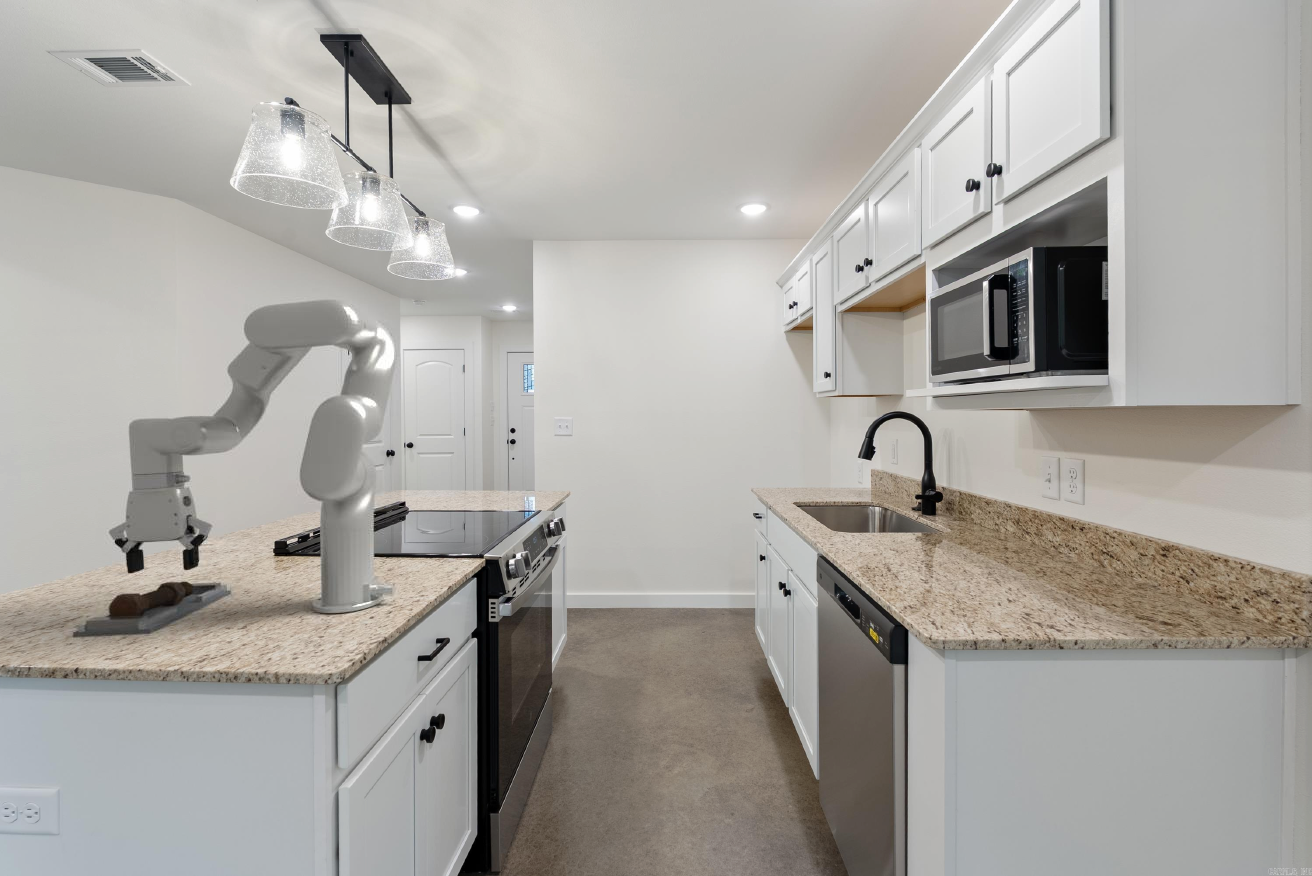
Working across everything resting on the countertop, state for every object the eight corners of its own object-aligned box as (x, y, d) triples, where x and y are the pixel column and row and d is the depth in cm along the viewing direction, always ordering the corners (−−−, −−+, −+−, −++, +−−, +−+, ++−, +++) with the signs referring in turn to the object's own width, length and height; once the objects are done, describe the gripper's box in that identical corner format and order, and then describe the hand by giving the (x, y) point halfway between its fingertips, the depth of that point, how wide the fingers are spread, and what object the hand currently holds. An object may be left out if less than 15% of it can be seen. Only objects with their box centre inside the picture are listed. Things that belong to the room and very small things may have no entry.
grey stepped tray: (231, 593, 121) (231, 590, 121) (150, 633, 99) (149, 628, 99) (169, 596, 120) (169, 592, 120) (73, 636, 97) (72, 632, 97)
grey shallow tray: (226, 590, 121) (226, 581, 121) (144, 629, 99) (144, 618, 98) (173, 592, 120) (173, 583, 120) (78, 632, 97) (77, 621, 97)
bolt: (191, 606, 116) (128, 630, 101) (168, 594, 116) (102, 617, 101) (206, 581, 116) (145, 602, 101) (183, 569, 116) (119, 588, 101)
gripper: (219, 478, 113) (224, 562, 114) (124, 482, 111) (129, 567, 112) (194, 482, 106) (199, 572, 107) (91, 486, 104) (97, 578, 104)
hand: (163, 569), depth 109 cm, fingers open, 9 cm apart
